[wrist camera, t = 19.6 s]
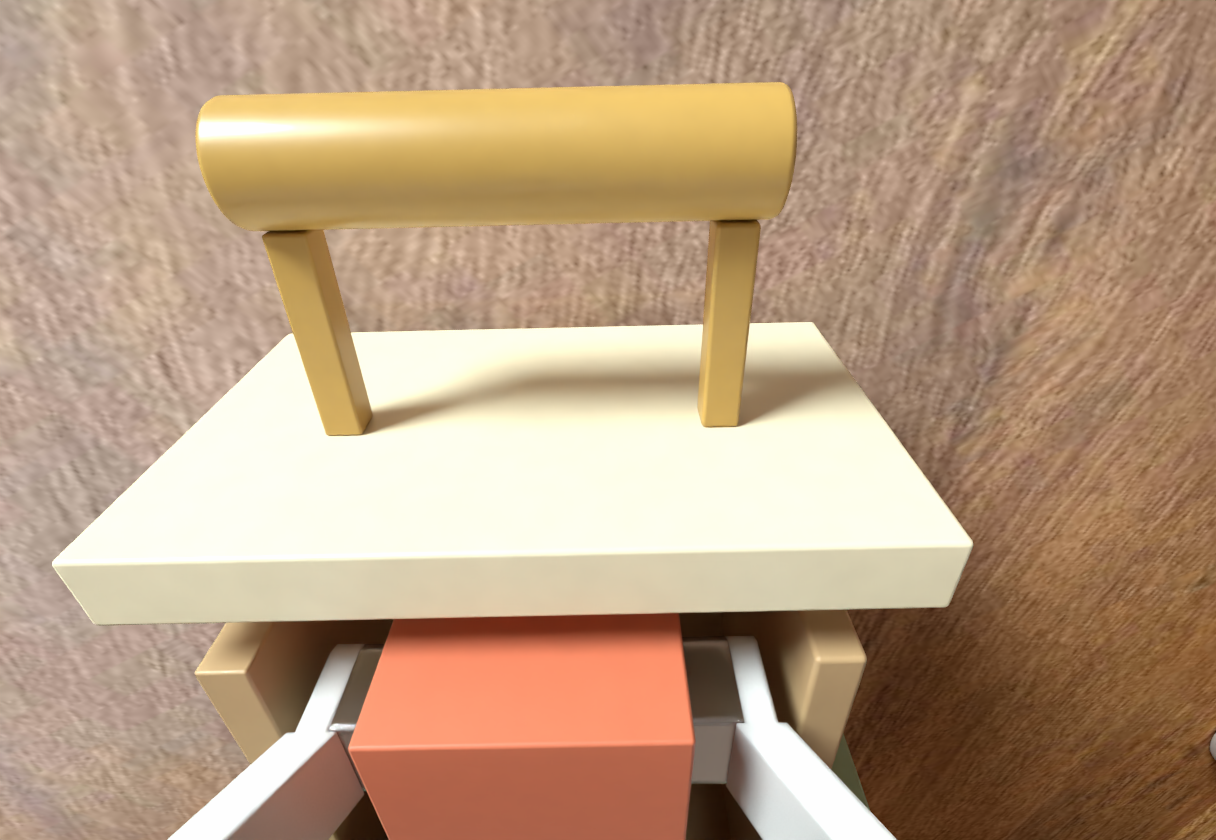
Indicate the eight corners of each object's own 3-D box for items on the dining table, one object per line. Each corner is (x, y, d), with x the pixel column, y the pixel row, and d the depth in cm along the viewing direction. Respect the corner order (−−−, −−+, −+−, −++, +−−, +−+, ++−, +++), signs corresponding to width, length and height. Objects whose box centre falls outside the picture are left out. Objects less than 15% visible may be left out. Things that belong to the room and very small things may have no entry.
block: (429, 514, 11) (345, 749, 8) (666, 509, 11) (696, 743, 8) (464, 662, 14) (413, 897, 10) (659, 659, 14) (681, 892, 10)
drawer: (204, 79, 11) (-261, 135, 5) (857, 64, 11) (1162, 101, 5) (409, 702, 20) (334, 963, 15) (748, 695, 20) (806, 954, 15)
